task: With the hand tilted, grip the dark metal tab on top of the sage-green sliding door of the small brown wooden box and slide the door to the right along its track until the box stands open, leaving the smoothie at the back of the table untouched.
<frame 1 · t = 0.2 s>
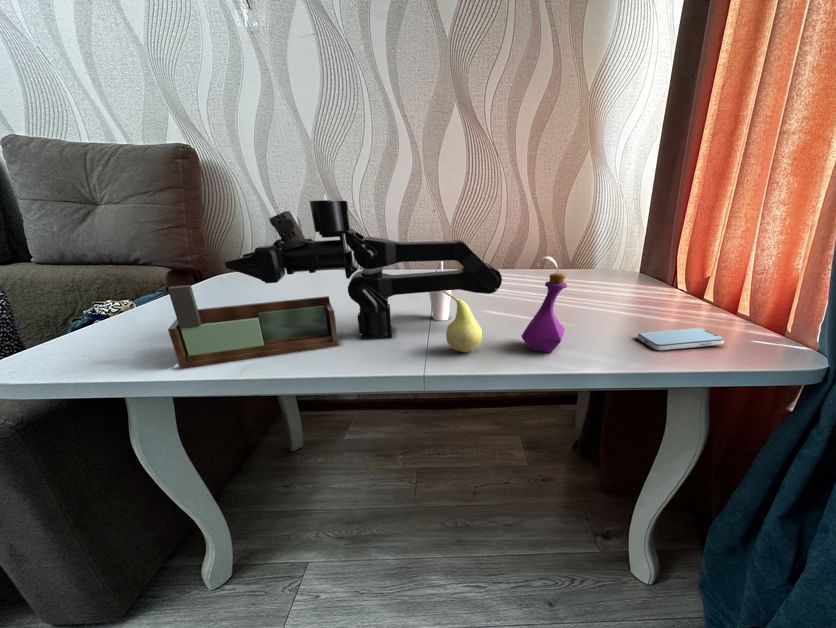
hand: (234, 261, 72), 17 cm above the table, tool horizontal, fingers open, 9 cm apart
fruit: (463, 352, 74), on the table
smartphone: (678, 343, 78), on the table
brown wooden box: (266, 349, 75), on the table
smoothie: (440, 319, 94), on the table
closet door: (220, 319, 68), point 8 cm above the table, slide at 0.0 cm
perfume bottle: (542, 348, 76), on the table
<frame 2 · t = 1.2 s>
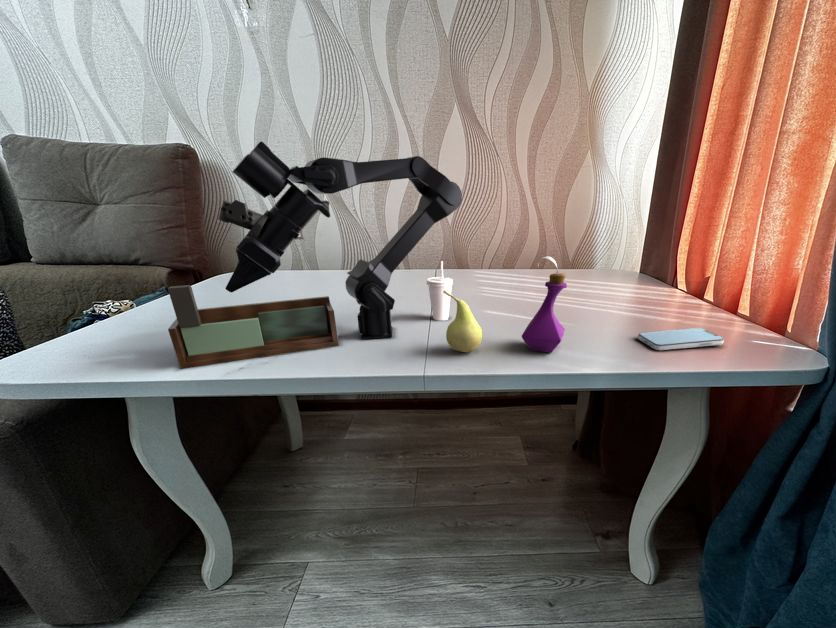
hand: (231, 285, 67), 14 cm above the table, tool tilted 45°, fingers open, 9 cm apart
nothing on the table moved.
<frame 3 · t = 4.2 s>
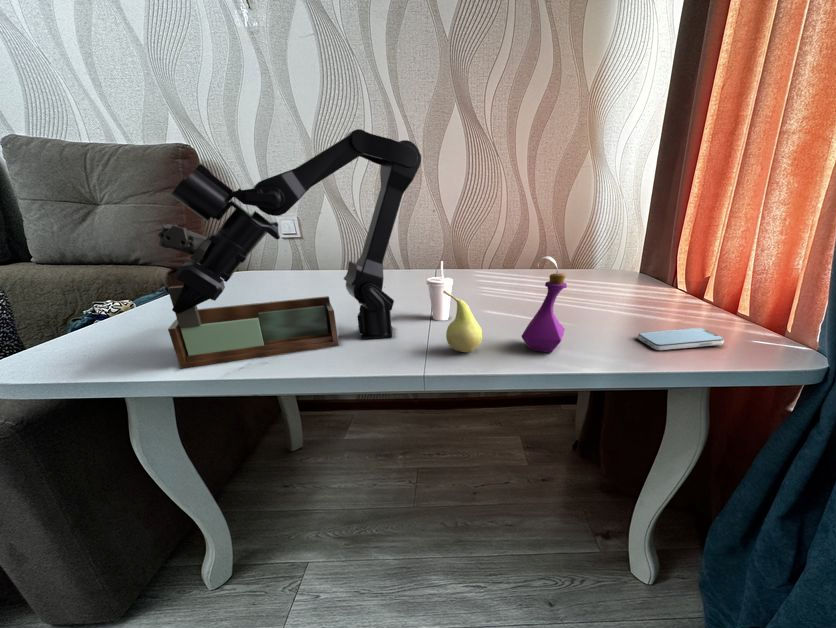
hand: (176, 310, 65), 10 cm above the table, tool tilted 45°, fingers closed on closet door, 2 cm apart
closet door: (220, 319, 68), point 8 cm above the table, slide at 0.0 cm, touching gripper
everything else where it was.
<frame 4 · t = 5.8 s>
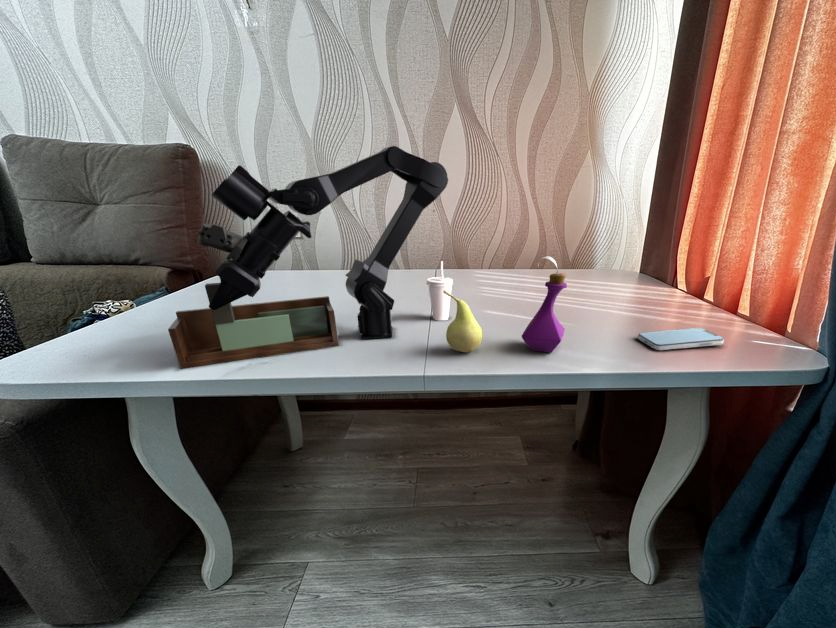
hand: (212, 307, 67), 10 cm above the table, tool tilted 45°, fingers closed on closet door, 2 cm apart
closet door: (252, 316, 70), point 8 cm above the table, slide at 5.2 cm, touching gripper
everything else where it was.
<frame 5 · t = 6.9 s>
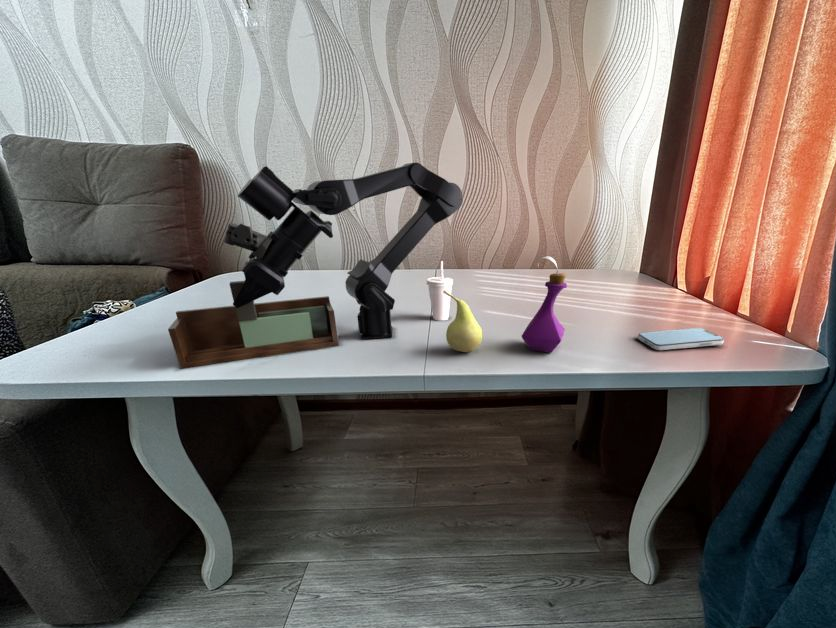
hand: (235, 304, 68), 10 cm above the table, tool tilted 45°, fingers closed on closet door, 2 cm apart
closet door: (274, 313, 71), point 8 cm above the table, slide at 8.9 cm, touching gripper
everything else where it was.
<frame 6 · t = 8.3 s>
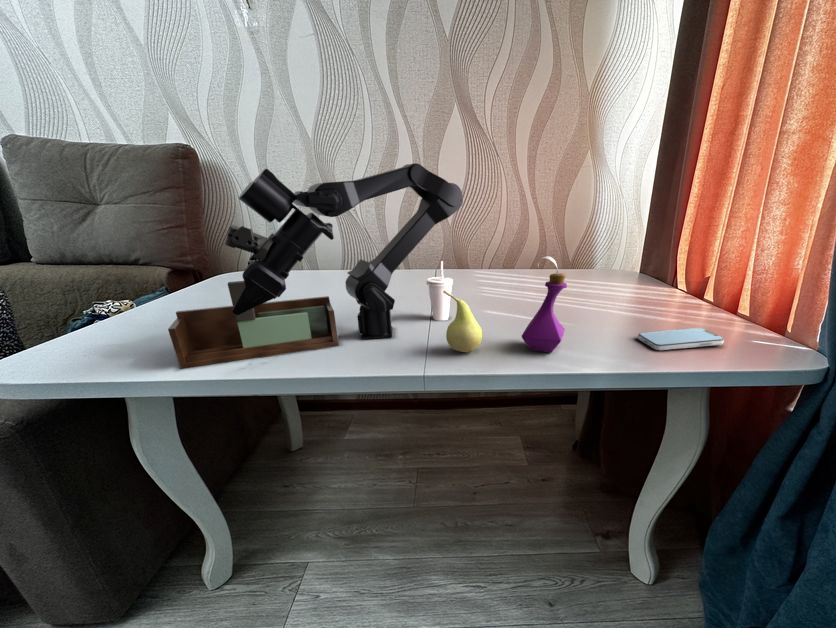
hand: (237, 306, 68), 10 cm above the table, tool tilted 45°, fingers open, 9 cm apart
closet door: (272, 314, 71), point 8 cm above the table, slide at 8.6 cm
everything else where it was.
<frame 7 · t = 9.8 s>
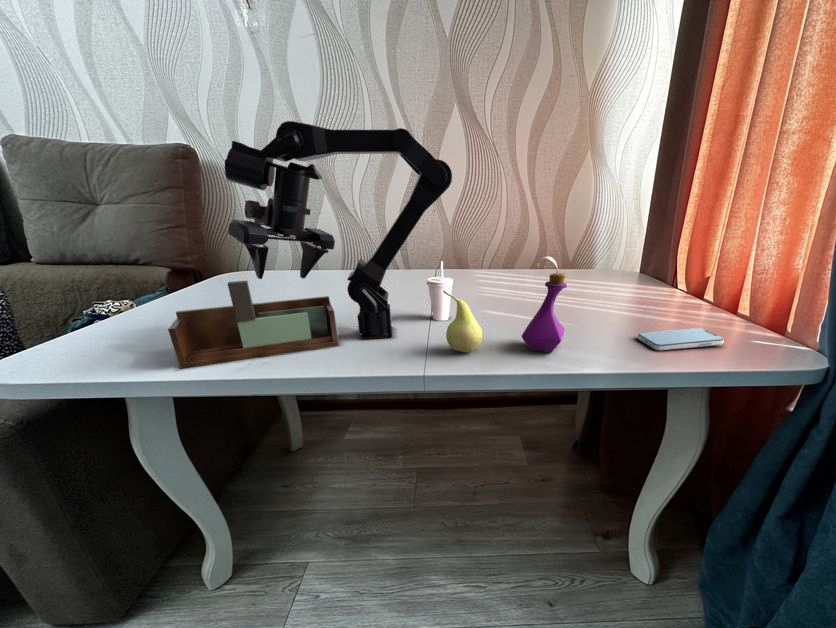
hand: (281, 278, 76), 13 cm above the table, tool tilted 15°, fingers open, 9 cm apart
nothing on the table moved.
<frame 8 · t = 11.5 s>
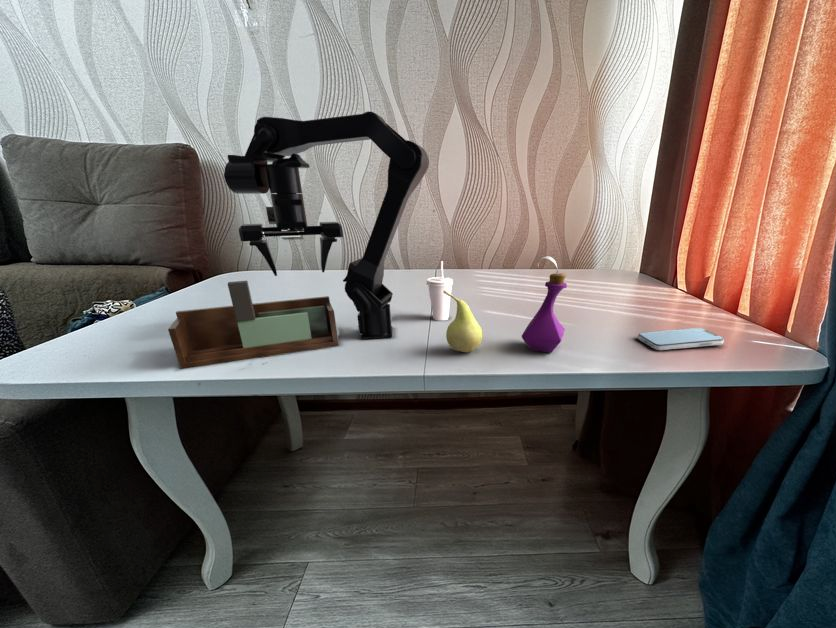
hand: (300, 273, 80), 13 cm above the table, tool pointing down, fingers open, 9 cm apart
nothing on the table moved.
at the end: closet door slide at 8.6 cm; the gripper is holding nothing; smoothie moved 0.2 cm from its start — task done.
